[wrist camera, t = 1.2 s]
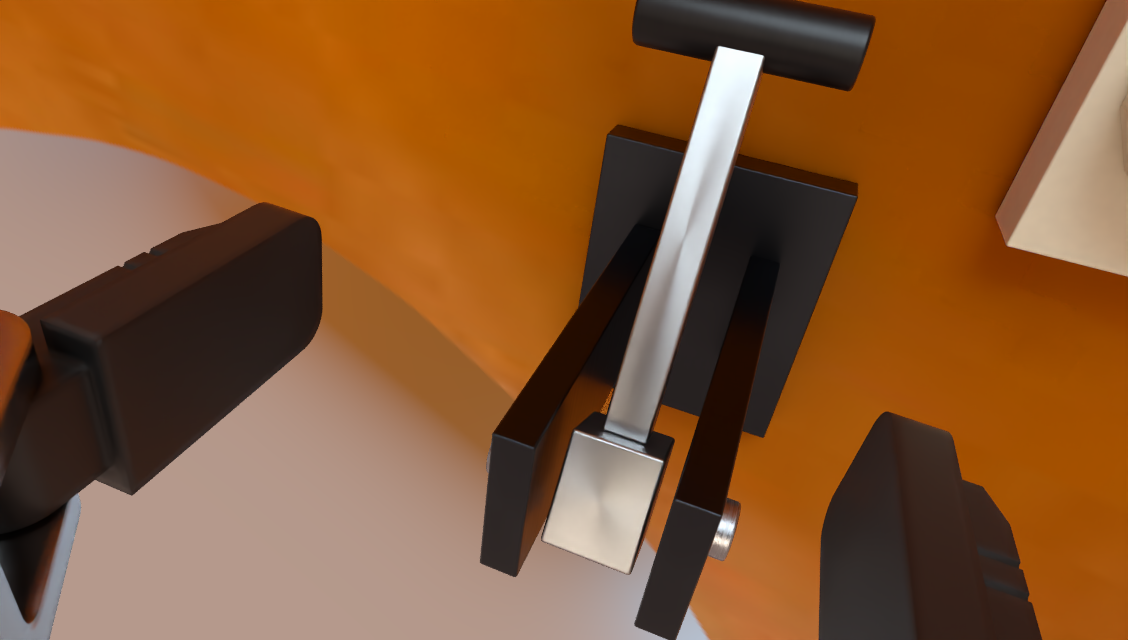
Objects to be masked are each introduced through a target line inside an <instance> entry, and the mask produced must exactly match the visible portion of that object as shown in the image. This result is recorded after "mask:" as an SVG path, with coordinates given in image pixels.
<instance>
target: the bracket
mask: <svg viewBox="0 0 1128 640" xmlns="http://www.w3.org/2000/svg"><path fill="white" fill-rule="evenodd" d="M687 143H688V142H687V141H683V140H679V139H674V138H670V137H666V136H662V135H658V134H654V133H650V132H646V131H642V130H638V129H634V128H630V127H626V126H622V125H617V126H615V127H614V128H613V129H612V130H611V131H610V132H609V133H608V134H607V138H606V144H605V150H604V156H603V162H602V168H601V174H600V180H599V186H598V192H597V198H596V204H595V210H594V216H593V222H592V228H591V234H590V240H589V246H588V252H587V258H586V264H585V270H584V276H583V282H582V288H581V294H580V300H579V306H578V309H577V310H576V312H575V313H574V315H573V316H572V318H571V319H570V321H569V322H568V324H567V325H566V326H565V328H564V329H563V331H562V332H561V334H560V335H559V337H558V338H557V340H556V341H555V343H554V344H553V346H552V347H551V348H550V350H549V351H548V353H547V354H546V356H545V357H544V359H543V360H542V362H541V363H540V365H539V366H538V368H537V369H536V371H535V372H534V373H533V375H532V376H531V378H530V379H529V381H528V382H527V384H526V385H525V387H524V388H523V390H522V391H521V393H520V394H519V395H518V397H517V398H516V400H515V401H514V403H513V404H512V406H511V407H510V409H509V410H508V412H507V413H506V415H505V416H504V418H503V419H502V420H501V422H500V423H499V425H498V426H497V428H496V429H495V431H494V432H493V434H492V443H491V447H490V450H489V453H488V458H487V464H486V469H487V472H488V473H489V475H488V484H487V495H486V506H485V515H484V526H483V536H482V546H481V556H480V563H481V564H484V565H486V566H488V567H491V568H493V569H496V570H498V571H501V572H503V573H506V574H508V575H510V576H513V577H516V576H517V575H518V573H519V571H520V569H521V567H522V565H523V563H524V561H525V559H526V557H527V555H528V553H529V551H530V549H531V547H532V545H533V543H534V541H535V539H536V537H537V535H538V533H539V531H540V529H541V527H542V525H543V523H544V522H545V519H546V518H547V516H548V512H549V509H550V505H551V502H552V499H553V495H554V492H555V488H556V485H557V482H558V478H559V475H560V471H561V468H562V465H563V461H564V458H565V454H566V451H567V448H568V444H569V441H570V437H571V434H572V431H573V430H574V428H576V427H577V426H578V425H579V424H580V423H581V422H583V421H584V420H585V419H586V418H587V417H588V416H589V415H591V414H592V413H593V412H599V413H600V411H601V409H602V407H603V405H604V403H605V401H606V399H607V397H608V395H609V393H610V391H611V389H612V388H614V387H615V384H616V381H617V377H618V374H619V371H620V367H621V364H622V360H623V357H624V354H625V350H626V347H627V344H628V340H629V337H630V334H631V330H632V327H633V324H634V320H635V317H636V314H637V310H638V307H639V303H640V300H641V297H642V293H643V290H644V287H645V283H646V280H647V277H648V273H649V270H650V267H651V263H652V260H653V257H654V253H655V250H656V247H657V243H658V240H659V236H660V233H661V230H662V226H663V223H664V220H665V216H666V213H667V210H668V206H669V203H670V200H671V196H672V193H673V190H674V186H675V183H676V179H677V176H678V173H679V169H680V166H681V163H682V159H683V156H684V153H685V149H686V146H687ZM857 198H858V184H857V183H853V182H849V181H845V180H841V179H837V178H833V177H829V176H825V175H821V174H817V173H813V172H808V171H804V170H800V169H796V168H792V167H788V166H784V165H780V164H776V163H772V162H768V161H764V160H760V159H756V158H752V157H748V156H744V155H739V154H738V157H737V160H736V163H735V166H734V170H733V173H732V176H731V179H730V183H729V186H728V189H727V192H726V196H725V199H724V202H723V205H722V209H721V212H720V215H719V218H718V222H717V225H716V228H715V231H714V235H713V238H712V241H711V244H710V248H709V251H708V254H707V257H706V261H705V264H704V267H703V270H702V274H701V277H700V280H699V283H698V287H697V290H696V293H695V296H694V300H693V303H692V306H691V309H690V313H689V316H688V319H687V322H686V326H685V329H684V332H683V336H682V339H681V342H680V345H679V349H678V352H677V355H676V358H675V362H674V365H673V368H672V371H671V375H670V378H669V381H668V384H667V388H666V391H665V394H664V397H663V401H662V404H663V405H666V406H669V407H672V408H675V409H678V410H681V411H684V412H687V413H690V414H693V415H696V416H699V420H698V423H697V427H696V430H695V433H694V436H693V439H692V442H691V446H690V449H689V452H688V455H687V458H686V461H685V465H684V468H683V471H682V474H681V477H680V480H679V484H678V487H677V490H676V493H675V496H674V499H673V503H672V506H671V509H670V512H669V515H668V519H667V522H666V525H665V528H664V531H663V534H662V538H661V541H660V544H659V547H658V550H657V554H656V557H655V560H654V563H653V566H652V569H651V573H650V576H649V579H648V582H647V586H646V588H645V592H644V595H643V598H642V601H641V605H640V608H639V611H638V614H637V617H636V620H635V623H634V624H635V626H636V627H638V628H640V629H643V630H645V631H648V632H650V633H653V634H655V635H658V636H660V637H663V638H665V639H668V640H676V638H677V635H678V633H679V630H680V628H681V625H682V622H683V620H684V617H685V614H686V612H687V609H688V606H689V604H690V601H691V598H692V596H693V593H694V591H695V588H696V585H697V583H698V580H699V577H700V575H701V572H702V569H703V567H704V564H705V562H706V559H707V556H710V557H712V558H715V559H718V560H720V561H724V560H725V559H726V557H727V555H728V552H729V550H730V547H731V544H732V541H733V538H734V534H735V531H736V528H737V524H738V520H739V516H740V510H741V504H740V503H739V502H738V501H735V500H732V499H729V498H727V495H728V490H729V486H730V482H731V477H732V473H733V469H734V464H735V460H736V456H737V451H738V447H739V443H740V438H741V434H742V431H744V432H747V433H750V434H753V435H756V436H759V437H762V438H763V437H764V436H765V433H766V431H767V428H768V426H769V423H770V421H771V418H772V416H773V413H774V410H775V408H776V405H777V403H778V400H779V398H780V395H781V393H782V390H783V387H784V385H785V382H786V380H787V377H788V375H789V372H790V370H791V367H792V364H793V362H794V359H795V357H796V354H797V352H798V349H799V347H800V344H801V341H802V339H803V336H804V334H805V331H806V329H807V326H808V323H809V321H810V318H811V316H812V313H813V311H814V308H815V306H816V303H817V300H818V298H819V295H820V293H821V290H822V288H823V285H824V283H825V280H826V277H827V275H828V272H829V270H830V267H831V265H832V262H833V260H834V257H835V254H836V252H837V249H838V247H839V244H840V242H841V239H842V237H843V234H844V231H845V229H846V226H847V224H848V221H849V219H850V216H851V214H852V211H853V208H854V206H855V203H856V201H857Z"/></svg>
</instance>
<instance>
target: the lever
mask: <svg viewBox="0 0 1128 640" xmlns="http://www.w3.org/2000/svg"><path fill="white" fill-rule="evenodd" d="M874 26H875V17H874V16H873V15H867V14H862V13H857V12H852V11H847V10H842V9H837V8H832V7H826V6H821V5H816V4H811V3H806V2H801V1H796V0H637V2H636V6H635V11H634V17H633V25H632V36H633V42H634V43H635V44H636V45H639V46H643V47H648V48H652V49H657V50H662V51H666V52H671V53H675V54H680V55H684V56H689V57H693V58H698V59H703V60H707V61H712V62H711V66H710V69H709V72H708V76H707V79H706V82H705V86H704V89H703V92H702V96H701V99H700V102H699V106H698V109H697V112H696V116H695V119H694V122H693V126H692V129H691V133H690V136H689V139H688V143H687V146H686V149H685V153H684V156H683V159H682V163H681V166H680V169H679V173H678V176H677V179H676V183H675V186H674V190H673V193H672V196H671V200H670V203H669V206H668V210H667V213H666V216H665V220H664V223H663V226H662V230H661V233H660V236H659V240H658V243H657V247H656V250H655V253H654V257H653V260H652V263H651V267H650V270H649V273H648V277H647V280H646V283H645V287H644V290H643V293H642V297H641V300H640V303H639V307H638V310H637V314H636V317H635V320H634V324H633V327H632V330H631V334H630V337H629V340H628V344H627V347H626V350H625V354H624V357H623V360H622V364H621V367H620V371H619V374H618V377H617V381H616V384H615V387H614V391H613V394H612V397H611V401H610V404H609V407H608V411H607V414H606V415H605V414H602V413H599V412H593V413H592V414H591V415H589V416H588V417H587V418H586V419H585V420H584V421H583V422H581V423H580V424H579V425H578V426H577V427H576V428H574V430H573V431H572V434H571V437H570V441H569V444H568V448H567V451H566V454H565V458H564V461H563V465H562V468H561V471H560V475H559V478H558V482H557V485H556V488H555V492H554V495H553V499H552V502H551V505H550V509H549V512H548V516H547V520H546V523H545V526H544V530H543V533H542V536H541V541H543V542H545V543H547V544H550V545H552V546H555V547H558V548H560V549H563V550H565V551H568V552H570V553H573V554H576V555H578V556H581V557H583V558H586V559H588V560H591V561H593V562H596V563H598V564H601V565H604V566H606V567H609V568H611V569H614V570H617V571H619V572H622V573H624V574H627V575H629V574H631V572H632V570H633V567H634V565H635V562H636V559H637V557H638V554H639V551H640V549H641V546H642V543H643V541H644V538H645V535H646V532H647V529H648V526H649V522H650V519H651V516H652V513H653V510H654V506H655V503H656V500H657V497H658V493H659V490H660V487H661V484H662V481H663V477H664V474H665V471H666V468H667V465H668V461H669V458H670V455H671V452H672V449H673V445H674V442H675V440H674V438H672V437H669V436H666V435H663V434H661V433H658V432H655V431H653V430H654V427H655V423H656V420H657V417H658V414H659V410H660V407H661V404H662V401H663V397H664V394H665V391H666V388H667V384H668V381H669V378H670V375H671V371H672V368H673V365H674V362H675V358H676V355H677V352H678V349H679V345H680V342H681V339H682V336H683V332H684V329H685V326H686V322H687V319H688V316H689V313H690V309H691V306H692V303H693V300H694V296H695V293H696V290H697V287H698V283H699V280H700V277H701V274H702V270H703V267H704V264H705V261H706V257H707V254H708V251H709V248H710V244H711V241H712V238H713V235H714V231H715V228H716V225H717V222H718V218H719V215H720V212H721V209H722V205H723V202H724V199H725V196H726V192H727V189H728V186H729V183H730V179H731V176H732V173H733V170H734V166H735V163H736V160H737V157H738V153H739V150H740V147H741V144H742V140H743V137H744V134H745V131H746V127H747V124H748V121H749V118H750V114H751V111H752V108H753V105H754V101H755V98H756V95H757V92H758V88H759V85H760V82H761V79H762V75H763V73H766V74H771V75H776V76H780V77H785V78H789V79H794V80H798V81H803V82H807V83H812V84H817V85H821V86H826V87H830V88H835V89H839V90H844V91H850V90H851V89H852V88H853V86H854V84H855V82H856V79H857V77H858V74H859V71H860V69H861V66H862V63H863V60H864V57H865V55H866V52H867V49H868V46H869V43H870V39H871V36H872V33H873V29H874Z"/></svg>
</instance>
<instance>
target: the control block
mask: <svg viewBox="0 0 1128 640" xmlns="http://www.w3.org/2000/svg"><path fill="white" fill-rule="evenodd" d="M995 217H996V220H997V222H998V225H999V228H1000V230H1001V233H1002V235H1003V238H1004V241H1005V243H1006V245H1007V246H1009V247H1013V248H1017V249H1021V250H1025V251H1029V252H1033V253H1037V254H1041V255H1045V256H1048V257H1052V258H1056V259H1060V260H1064V261H1068V262H1072V263H1076V264H1080V265H1084V266H1088V267H1092V268H1096V269H1100V270H1104V271H1108V272H1112V273H1115V274H1119V275H1123V276H1127V277H1128V0H1107V1H1106V3H1105V5H1104V7H1103V9H1102V10H1101V12H1100V14H1099V16H1098V18H1097V20H1096V22H1095V24H1094V26H1093V28H1092V30H1091V32H1090V34H1089V36H1088V38H1087V39H1086V41H1085V43H1084V45H1083V47H1082V49H1081V51H1080V53H1079V55H1078V57H1077V59H1076V61H1075V63H1074V65H1073V67H1072V68H1071V70H1070V72H1069V74H1068V76H1067V78H1066V80H1065V82H1064V84H1063V86H1062V88H1061V90H1060V92H1059V94H1058V96H1057V97H1056V99H1055V101H1054V103H1053V105H1052V107H1051V109H1050V111H1049V113H1048V115H1047V117H1046V119H1045V121H1044V123H1043V125H1042V126H1041V128H1040V130H1039V132H1038V134H1037V136H1036V138H1035V140H1034V142H1033V144H1032V146H1031V148H1030V150H1029V152H1028V154H1027V155H1026V157H1025V159H1024V161H1023V163H1022V165H1021V167H1020V169H1019V171H1018V173H1017V175H1016V177H1015V179H1014V181H1013V183H1012V184H1011V186H1010V188H1009V190H1008V192H1007V194H1006V196H1005V198H1004V200H1003V202H1002V204H1001V206H1000V208H999V210H998V212H997V214H996V216H995Z"/></svg>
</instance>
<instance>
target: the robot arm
mask: <svg viewBox="0 0 1128 640" xmlns="http://www.w3.org/2000/svg"><path fill="white" fill-rule="evenodd" d="M321 316H322V236H321V229H320V226H319V224H318V222H317V221H316V220H315V219H314V218H311V217H309V216H306V215H303V214H300V213H297V212H294V211H291V210H288V209H285V208H282V207H279V206H276V205H273V204H270V203H265V202H263V203H258V204H256V205H254V206H252V207H250V208H248V209H246V210H245V211H243V212H241V213H239V214H237V215H235V216H233V217H231V218H230V219H228V220H226V221H224V222H222V223H219V224H216V225H211V226H207V227H203V228H199V229H195V230H191V231H187V232H183V233H180V234H178V235H177V236H175V237H173V238H171V239H169V240H167V241H165V242H163V243H161V244H159V245H157V246H155V247H153V248H151V251H150V253H149V254H148V253H146V252H143V253H141V254H139V255H138V256H136V257H134V258H132V259H130V260H128V261H126V262H125V264H124V266H123V267H120V266H116V267H114V268H112V269H110V270H108V271H107V272H105V273H103V274H101V275H99V276H97V277H95V278H93V279H91V280H89V281H87V282H85V283H83V284H81V285H79V286H77V287H75V288H73V289H71V290H70V291H68V292H66V293H64V294H62V295H60V296H58V297H56V298H54V299H52V300H50V301H48V302H46V303H44V304H42V305H40V306H38V307H36V308H34V309H33V310H31V311H29V312H27V313H25V314H23V315H21V316H17V315H15V314H13V313H10V312H7V311H3V310H0V640H49V639H50V634H51V630H52V626H53V622H54V618H55V613H56V610H57V606H58V602H59V598H60V594H61V589H62V585H63V581H64V577H65V573H66V569H67V565H68V561H69V557H70V553H71V549H72V545H73V541H74V537H75V533H76V528H77V525H78V520H79V517H80V511H81V503H80V499H79V495H78V493H79V492H80V491H81V490H82V489H84V488H85V487H86V486H87V485H89V484H90V483H91V482H92V481H94V480H97V481H99V482H101V483H104V484H106V485H108V486H111V487H113V488H116V489H118V490H120V491H122V492H125V493H127V494H129V495H133V494H135V493H136V492H137V491H138V490H139V489H140V488H141V487H143V486H144V485H145V484H146V483H148V482H149V481H150V480H151V479H152V478H153V477H155V476H156V475H157V474H158V473H159V472H160V471H162V470H163V469H164V468H165V467H166V466H167V465H169V464H170V463H171V462H172V461H173V460H174V459H176V458H177V457H178V456H179V455H180V454H182V453H183V452H184V451H185V450H186V449H187V448H189V447H190V446H191V445H192V444H193V443H194V442H196V441H197V440H198V439H199V438H200V437H201V436H203V435H204V434H205V433H206V432H207V431H209V430H210V429H211V428H212V427H213V426H214V425H216V424H217V423H218V422H219V421H220V420H221V419H223V418H224V417H225V416H226V415H227V414H228V413H230V412H231V411H232V410H233V409H234V408H236V407H237V406H238V405H239V404H240V403H241V402H242V401H244V400H245V399H246V398H247V397H248V396H249V395H251V394H252V393H253V392H254V391H255V390H257V389H258V388H259V387H260V386H261V385H263V384H264V383H265V382H266V381H267V380H268V379H270V378H271V377H272V376H273V375H274V374H275V373H277V372H278V371H279V370H280V369H281V368H282V367H284V366H285V365H286V364H287V363H288V362H290V361H291V360H292V359H293V358H294V357H295V356H297V355H298V354H299V353H300V352H301V351H302V350H303V349H305V347H307V345H308V344H309V343H310V342H311V340H312V339H313V337H314V335H315V333H316V331H317V329H318V327H319V324H320V320H321ZM1020 563H1021V562H1020V559H1019V555H1018V552H1017V548H1016V545H1015V541H1014V537H1013V534H1012V530H1011V527H1010V524H1009V523H1008V521H1007V520H1006V519H1005V517H1004V516H1003V514H1002V513H1001V511H1000V510H999V509H998V507H997V506H996V504H995V503H994V502H993V500H992V499H991V497H990V496H989V495H988V493H987V492H986V490H985V489H984V488H983V487H982V486H979V485H976V484H973V483H970V482H967V481H965V480H962V477H961V473H960V468H959V463H958V459H957V454H956V450H955V445H954V441H953V438H952V436H951V434H950V433H949V432H947V431H944V430H941V429H938V428H935V427H932V426H929V425H926V424H923V423H920V422H917V421H914V420H911V419H908V418H905V417H902V416H899V415H896V414H893V413H890V412H884V413H883V414H881V415H880V416H879V418H878V419H877V420H876V422H875V423H874V425H873V427H872V428H871V430H870V432H869V434H868V435H867V437H866V439H865V441H864V442H863V444H862V446H861V448H860V449H859V451H858V453H857V455H856V456H855V458H854V460H853V462H852V463H851V465H850V467H849V469H848V471H847V472H846V474H845V476H844V478H843V479H842V481H841V483H840V485H839V486H838V488H837V490H836V492H835V494H834V495H833V497H832V500H831V502H830V505H829V507H828V510H827V513H826V516H825V520H824V524H823V529H822V535H821V557H820V605H819V640H1042V637H1041V634H1040V630H1039V627H1038V623H1037V620H1036V616H1035V612H1034V609H1033V605H1032V603H1031V602H1028V596H1029V591H1028V587H1027V584H1026V580H1025V577H1024V573H1023V570H1021V569H1019V564H1020Z"/></svg>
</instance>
